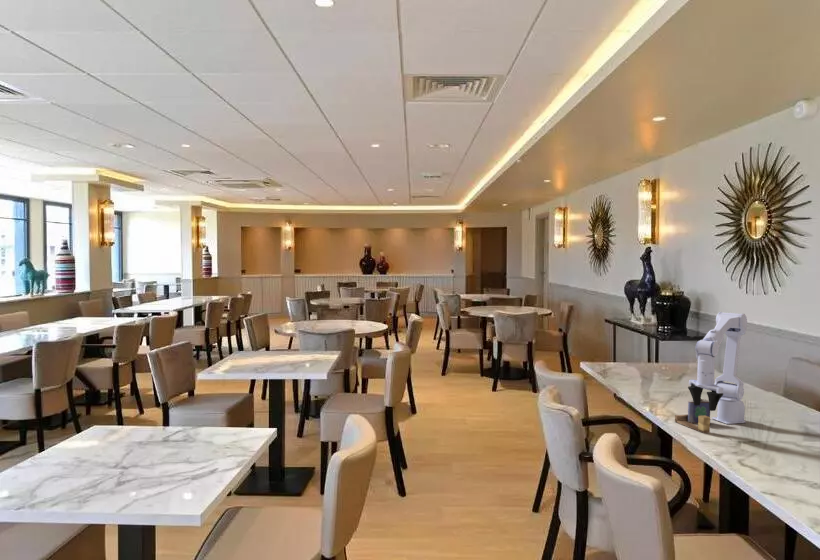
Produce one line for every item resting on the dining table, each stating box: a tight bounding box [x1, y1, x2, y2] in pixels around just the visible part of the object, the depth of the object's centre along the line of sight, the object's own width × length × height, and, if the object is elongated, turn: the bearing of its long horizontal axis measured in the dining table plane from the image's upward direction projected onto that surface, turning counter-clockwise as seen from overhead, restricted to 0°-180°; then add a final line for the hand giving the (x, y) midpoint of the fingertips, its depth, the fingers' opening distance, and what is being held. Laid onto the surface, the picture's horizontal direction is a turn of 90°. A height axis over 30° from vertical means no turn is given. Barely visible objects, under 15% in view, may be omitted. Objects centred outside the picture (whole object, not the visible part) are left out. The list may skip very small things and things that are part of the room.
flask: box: [687, 398, 711, 425], centre depth 224 cm, size 9×3×11 cm, turn 97°
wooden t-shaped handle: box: [674, 413, 711, 434], centre depth 219 cm, size 12×15×6 cm
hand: (704, 407), depth 212 cm, fingers open, 7 cm apart
